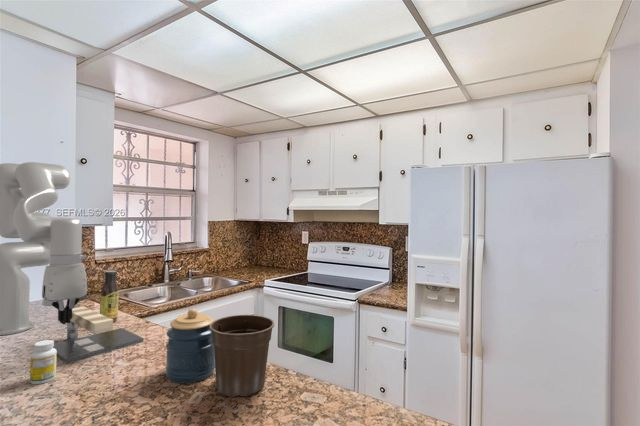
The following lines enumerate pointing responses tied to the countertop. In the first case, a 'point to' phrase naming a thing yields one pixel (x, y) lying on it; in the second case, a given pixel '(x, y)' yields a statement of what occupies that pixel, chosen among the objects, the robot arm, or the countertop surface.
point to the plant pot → (241, 353)
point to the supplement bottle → (43, 362)
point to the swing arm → (91, 320)
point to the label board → (93, 343)
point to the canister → (190, 348)
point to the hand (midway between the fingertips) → (65, 322)
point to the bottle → (109, 296)
